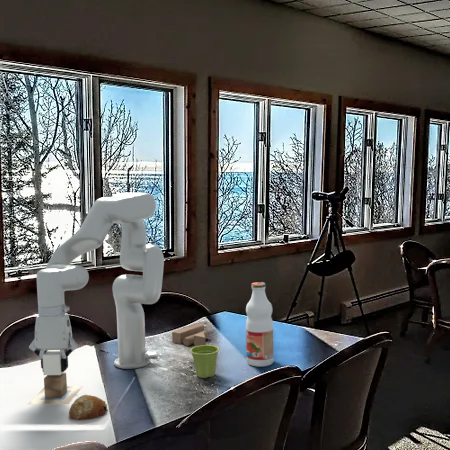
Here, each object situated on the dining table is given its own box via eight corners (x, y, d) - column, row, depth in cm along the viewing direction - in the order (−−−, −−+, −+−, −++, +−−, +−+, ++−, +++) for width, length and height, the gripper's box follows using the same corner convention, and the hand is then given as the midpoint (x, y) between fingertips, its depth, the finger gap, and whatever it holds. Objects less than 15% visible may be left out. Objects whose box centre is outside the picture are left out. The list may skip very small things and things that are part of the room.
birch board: (83, 390, 180) (83, 386, 180) (68, 408, 166) (68, 404, 166) (45, 390, 181) (45, 386, 181) (27, 408, 167) (27, 404, 167)
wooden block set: (169, 329, 228) (199, 319, 242) (170, 343, 228) (199, 333, 243) (203, 335, 218) (231, 325, 232) (203, 350, 218) (232, 339, 232)
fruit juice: (276, 366, 198) (275, 285, 195) (249, 368, 196) (247, 286, 194) (270, 357, 207) (268, 280, 204) (244, 359, 205) (242, 281, 203)
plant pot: (213, 381, 185) (212, 354, 184) (186, 378, 188) (185, 352, 187) (223, 371, 193) (223, 346, 193) (197, 369, 197) (197, 344, 196)
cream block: (65, 369, 175) (64, 349, 174) (60, 375, 170) (59, 355, 170) (49, 369, 175) (48, 350, 175) (43, 375, 170) (42, 355, 170)
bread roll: (80, 422, 165) (66, 399, 164) (112, 405, 165) (99, 382, 164) (74, 438, 155) (59, 413, 154) (108, 420, 156) (94, 395, 155)
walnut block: (67, 391, 176) (66, 372, 175) (61, 398, 171) (60, 378, 170) (51, 391, 176) (49, 372, 175) (44, 398, 171) (43, 378, 170)
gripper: (83, 307, 174) (86, 366, 176) (28, 308, 175) (31, 366, 177) (76, 313, 167) (79, 374, 168) (18, 314, 168) (21, 375, 169)
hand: (54, 369), depth 173 cm, fingers closed on cream block, 5 cm apart
